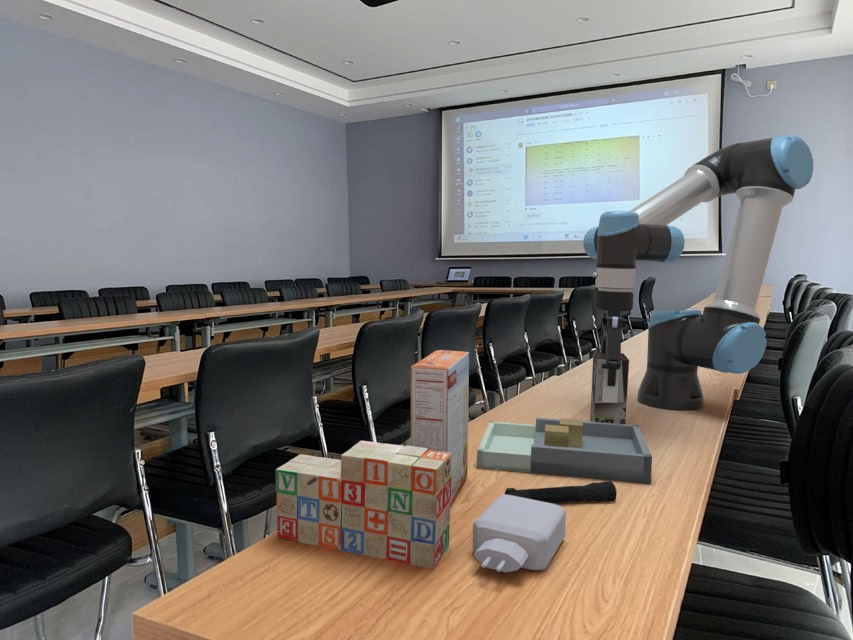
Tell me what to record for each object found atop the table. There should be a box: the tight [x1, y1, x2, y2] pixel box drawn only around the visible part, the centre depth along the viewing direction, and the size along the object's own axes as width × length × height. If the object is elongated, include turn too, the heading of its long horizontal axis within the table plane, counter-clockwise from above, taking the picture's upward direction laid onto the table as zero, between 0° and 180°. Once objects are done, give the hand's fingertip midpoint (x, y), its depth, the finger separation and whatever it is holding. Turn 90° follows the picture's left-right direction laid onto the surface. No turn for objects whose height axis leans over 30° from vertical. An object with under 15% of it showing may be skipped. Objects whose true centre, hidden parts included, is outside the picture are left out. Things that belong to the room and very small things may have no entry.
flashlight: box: [504, 480, 618, 505], centre depth 90 cm, size 3×16×3 cm, turn 102°
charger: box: [472, 494, 567, 573], centre depth 73 cm, size 5×9×15 cm
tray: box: [476, 421, 536, 474], centre depth 111 cm, size 9×18×3 cm, turn 167°
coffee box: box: [589, 352, 630, 424], centre depth 124 cm, size 9×6×16 cm
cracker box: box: [410, 349, 470, 507], centre depth 92 cm, size 14×6×21 cm, turn 164°
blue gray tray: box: [529, 417, 653, 485], centre depth 108 cm, size 19×18×4 cm
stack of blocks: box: [275, 440, 452, 570], centre depth 76 cm, size 21×6×12 cm, turn 71°
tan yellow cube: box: [544, 425, 569, 448], centre depth 107 cm, size 4×4×4 cm
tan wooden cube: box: [559, 417, 583, 448], centre depth 111 cm, size 4×4×4 cm
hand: (607, 394), depth 124 cm, fingers open, 13 cm apart
